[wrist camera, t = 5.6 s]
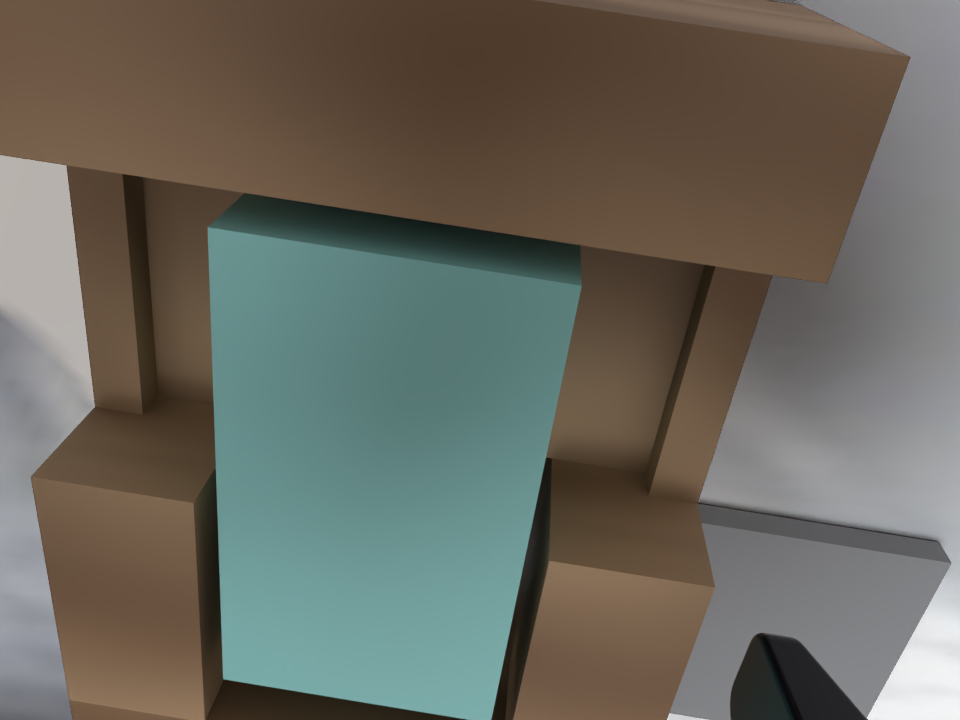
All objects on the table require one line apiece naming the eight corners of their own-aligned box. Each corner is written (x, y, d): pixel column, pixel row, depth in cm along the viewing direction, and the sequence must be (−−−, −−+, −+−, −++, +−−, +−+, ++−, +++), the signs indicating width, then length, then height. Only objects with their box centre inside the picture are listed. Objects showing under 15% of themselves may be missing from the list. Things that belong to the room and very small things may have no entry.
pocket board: (606, 658, 19) (617, 854, 15) (179, 588, 19) (80, 764, 15) (800, 5, 12) (910, 57, 8) (133, -96, 12) (-68, -91, 8)
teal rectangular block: (500, 610, 16) (490, 723, 14) (269, 572, 16) (223, 679, 14) (579, 215, 12) (581, 286, 10) (272, 167, 12) (206, 228, 10)
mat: (844, 720, 19) (852, 743, 19) (610, 682, 20) (611, 703, 19) (939, 542, 17) (951, 563, 16) (667, 499, 17) (670, 518, 16)
